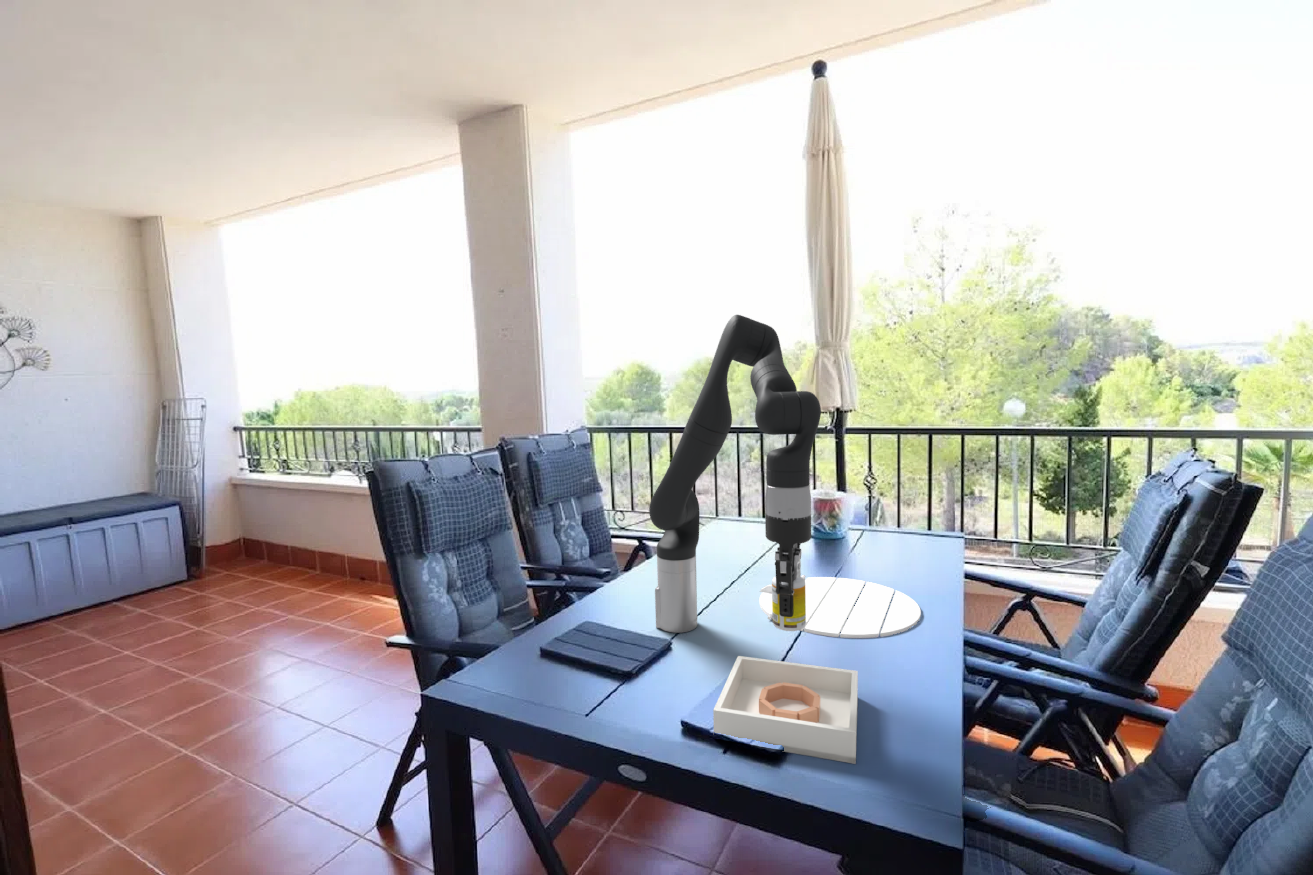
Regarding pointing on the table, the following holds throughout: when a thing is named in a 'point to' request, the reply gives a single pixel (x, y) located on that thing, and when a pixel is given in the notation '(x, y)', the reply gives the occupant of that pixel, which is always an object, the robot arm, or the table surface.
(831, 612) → the white round slatted board
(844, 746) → the walled box
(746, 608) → the table surface
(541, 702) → the table surface
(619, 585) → the table surface
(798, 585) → the supplement bottle
